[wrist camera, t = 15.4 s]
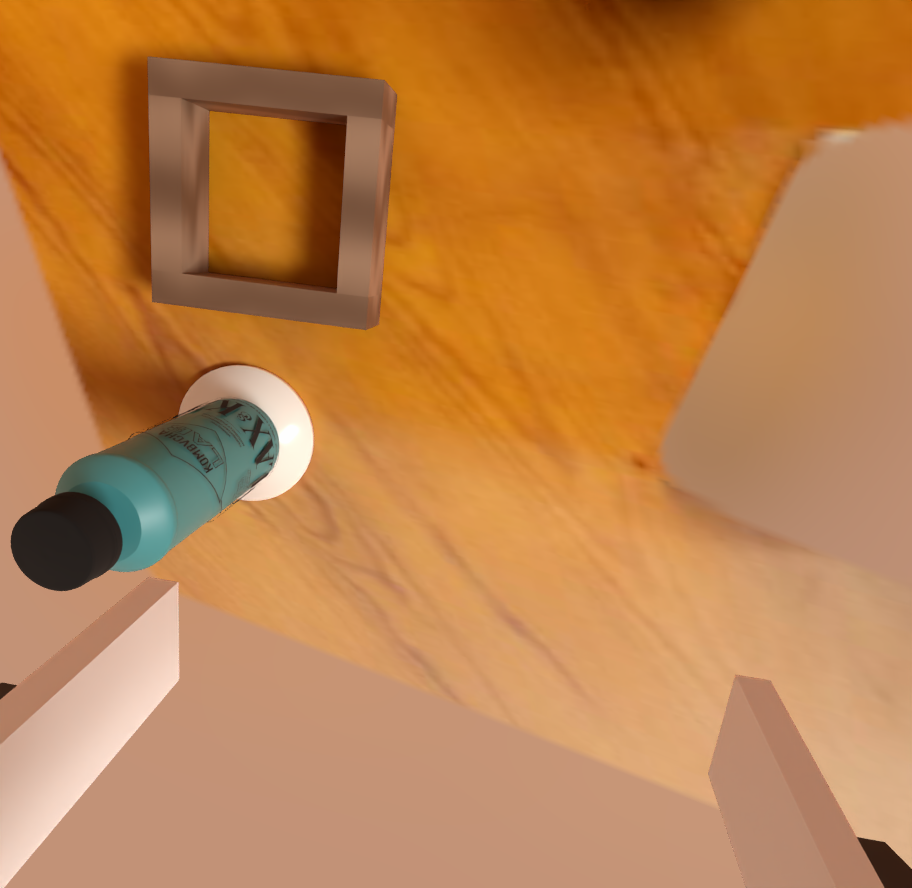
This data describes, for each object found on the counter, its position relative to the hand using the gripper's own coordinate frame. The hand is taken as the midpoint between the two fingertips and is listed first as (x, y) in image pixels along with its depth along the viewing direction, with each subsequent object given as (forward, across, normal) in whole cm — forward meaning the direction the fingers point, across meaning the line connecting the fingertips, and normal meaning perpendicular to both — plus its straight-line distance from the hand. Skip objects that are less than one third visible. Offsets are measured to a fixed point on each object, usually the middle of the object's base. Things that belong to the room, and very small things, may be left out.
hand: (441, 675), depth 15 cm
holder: (+31, -16, +11) cm, 36 cm away
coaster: (+31, -18, -5) cm, 36 cm away
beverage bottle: (+30, -18, -5) cm, 36 cm away
